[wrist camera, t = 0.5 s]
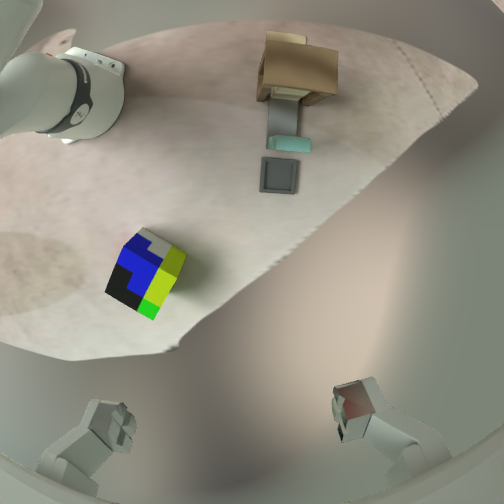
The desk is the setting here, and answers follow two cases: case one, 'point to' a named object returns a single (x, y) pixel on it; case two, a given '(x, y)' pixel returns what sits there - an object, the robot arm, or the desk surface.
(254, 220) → the desk surface
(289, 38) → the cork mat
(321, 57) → the tunnel
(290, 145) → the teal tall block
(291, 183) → the tray
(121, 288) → the puzzle toy
